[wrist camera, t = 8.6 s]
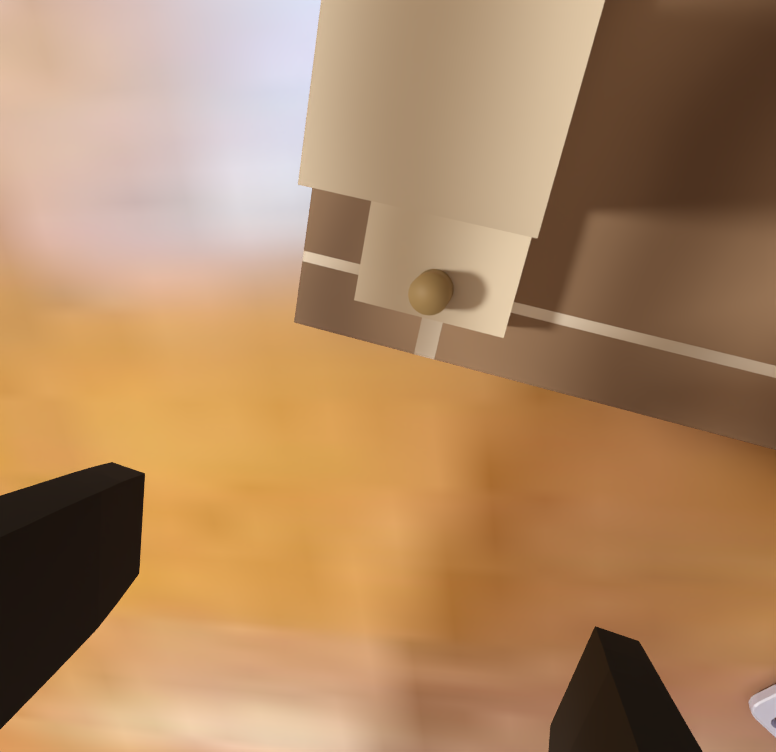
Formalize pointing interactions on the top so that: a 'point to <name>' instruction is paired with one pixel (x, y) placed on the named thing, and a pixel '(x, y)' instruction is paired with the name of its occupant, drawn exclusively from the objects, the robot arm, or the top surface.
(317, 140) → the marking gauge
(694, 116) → the walnut board
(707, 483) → the top surface
